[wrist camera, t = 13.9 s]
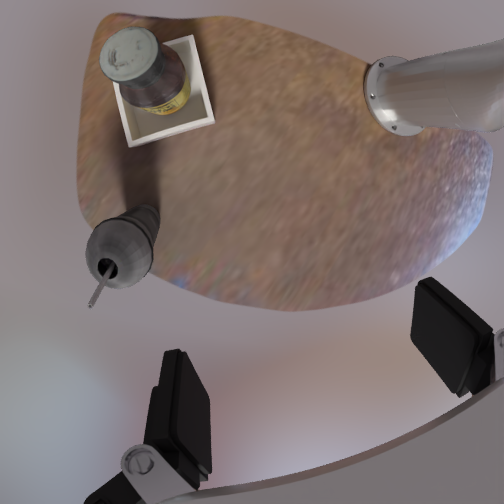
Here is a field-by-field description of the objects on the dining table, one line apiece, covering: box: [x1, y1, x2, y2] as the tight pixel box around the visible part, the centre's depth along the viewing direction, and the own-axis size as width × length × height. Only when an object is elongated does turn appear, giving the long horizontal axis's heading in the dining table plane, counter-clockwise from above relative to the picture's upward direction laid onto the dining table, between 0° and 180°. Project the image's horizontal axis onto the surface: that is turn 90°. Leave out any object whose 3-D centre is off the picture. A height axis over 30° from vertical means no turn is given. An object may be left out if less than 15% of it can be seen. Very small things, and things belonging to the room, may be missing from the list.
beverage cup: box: [86, 204, 160, 309], centre depth 29 cm, size 7×7×20 cm
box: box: [113, 35, 215, 148], centre depth 30 cm, size 10×11×5 cm
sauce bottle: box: [99, 27, 191, 115], centre depth 23 cm, size 7×6×20 cm
